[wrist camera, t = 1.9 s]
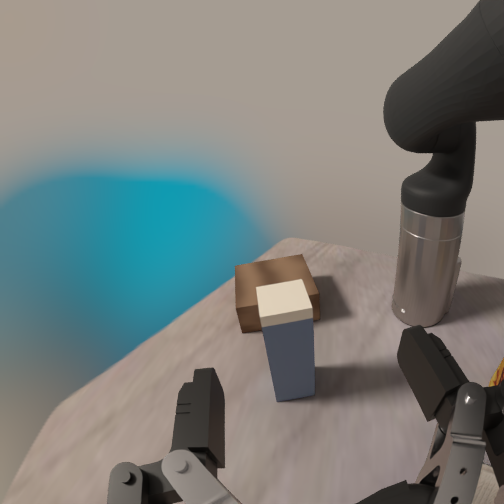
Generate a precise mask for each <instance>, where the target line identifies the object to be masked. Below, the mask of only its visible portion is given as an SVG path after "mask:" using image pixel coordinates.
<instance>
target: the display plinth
mask: <svg viewBox="0 0 504 504" xmlns="http://www.w3.org/2000/svg"><path fill="white" fill-rule="evenodd" d="M299 279H302V281H303V283H304V286H305V289H306V291H307V294H308V297H309V299H310V302H311V305H312V308H313V321H314V320H319V319H320V302H319V292H318V289H317V287H316V285H315V283H314V280H313V278H312V276H311V273H310V271H309V269H308V266H307V264H306V262H305V260H304V257H303V255H302V254H300V255H294V256H289V257H283V258H277V259H272V260H266V261H260V262H254V263H249V264H243V265H237V266H235V294H236V311H237V315H238V319H239V323H240V326H241V330H242V333H247V332H253V331H259V330H262V326H261V321H260V315H259V307H258V299H257V291H256V287H260V286H265V285H271V284H277V283H282V282H288V281H294V280H299Z"/></svg>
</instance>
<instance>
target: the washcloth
mask: <svg viewBox="0 0 504 504" xmlns="http://www.w3.org/2000/svg"><path fill="white" fill-rule="evenodd" d="M498 490H499V486H498V483H497V480H496V477H495V474H494V471H493V468H492V467H491V466H488V465H485V464H482V469H481V473H480V477H479V481H478V485H477V488H476V492H475V495H474V499H473V502H472V504H494V499H495V497H496V495H497V492H498Z"/></svg>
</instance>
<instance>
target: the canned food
mask: <svg viewBox="0 0 504 504" xmlns="http://www.w3.org/2000/svg"><path fill="white" fill-rule="evenodd" d="M503 379H504V358H503V360H502V362H501V363H500V365H499V367H498V368H497V370H496V372H495V373H494V375H493V377H492V378H491V380H490V382H489V385H488V387H490V386H495V385H500V383H501V382H502V380H503Z"/></svg>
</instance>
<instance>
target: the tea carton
mask: <svg viewBox="0 0 504 504" xmlns="http://www.w3.org/2000/svg"><path fill="white" fill-rule="evenodd" d="M256 291H257V299H258V307H259V315H260V321H261V326H262V331H263V336H264V341H265V346H266V351H267V356H268V361H269V366H270V371H271V376H272V381H273V386H274V390H275V395H276V400H277V402H280V401H286V400H291V399H297V398H302V397H307V396H312V395H315V363H314V330H313V308H312V305H311V302H310V299H309V297H308V294H307V291H306V289H305V286H304V283H303V281H302V279H299V280H294V281H288V282H282V283H277V284H271V285H265V286H260V287H256Z"/></svg>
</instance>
